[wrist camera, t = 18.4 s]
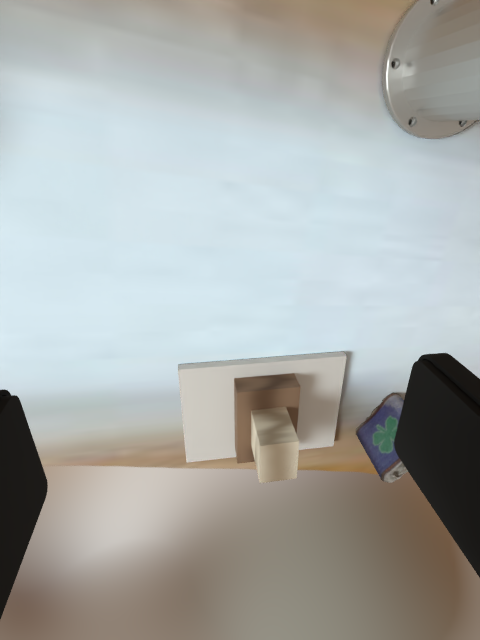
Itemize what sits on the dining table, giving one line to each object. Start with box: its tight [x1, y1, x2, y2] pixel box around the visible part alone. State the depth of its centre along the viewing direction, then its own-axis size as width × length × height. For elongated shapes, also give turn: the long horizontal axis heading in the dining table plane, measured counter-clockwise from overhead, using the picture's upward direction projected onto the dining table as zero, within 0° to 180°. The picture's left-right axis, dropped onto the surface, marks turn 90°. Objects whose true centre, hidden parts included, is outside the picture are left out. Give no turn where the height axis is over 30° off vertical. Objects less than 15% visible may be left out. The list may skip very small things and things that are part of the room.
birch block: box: [251, 407, 299, 483], centre depth 46 cm, size 4×6×6 cm
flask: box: [356, 393, 408, 482], centre depth 51 cm, size 9×3×11 cm, turn 147°
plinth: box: [234, 373, 301, 463], centre depth 50 cm, size 8×12×3 cm, turn 0°
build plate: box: [178, 351, 347, 462], centre depth 51 cm, size 22×16×1 cm
